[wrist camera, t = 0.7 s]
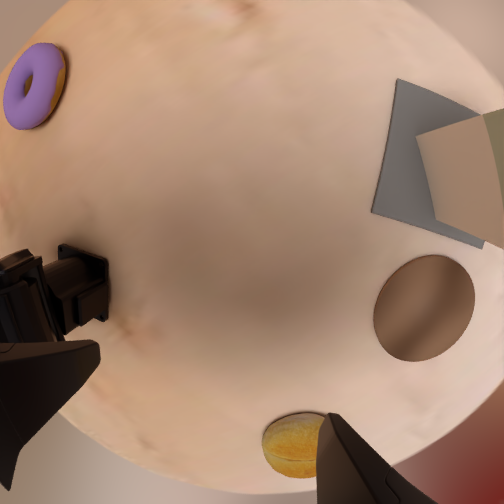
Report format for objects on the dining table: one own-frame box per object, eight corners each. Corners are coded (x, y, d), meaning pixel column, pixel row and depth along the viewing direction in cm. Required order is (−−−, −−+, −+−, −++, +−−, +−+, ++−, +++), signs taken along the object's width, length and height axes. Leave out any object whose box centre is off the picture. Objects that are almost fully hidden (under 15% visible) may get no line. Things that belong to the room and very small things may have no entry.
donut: (12, 86, 22) (-12, 77, 17) (69, 38, 21) (47, 21, 16) (24, 150, 23) (-4, 145, 18) (86, 99, 23) (60, 85, 18)
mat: (370, 212, 19) (372, 212, 19) (396, 79, 16) (398, 78, 16) (479, 248, 18) (482, 249, 17) (502, 129, 15) (505, 129, 15)
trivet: (357, 348, 22) (358, 352, 21) (396, 241, 19) (399, 243, 19) (444, 363, 21) (446, 367, 20) (486, 270, 18) (489, 272, 18)
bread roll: (347, 407, 24) (350, 438, 20) (338, 459, 26) (338, 486, 22) (260, 407, 25) (253, 437, 22) (265, 458, 28) (259, 484, 24)
